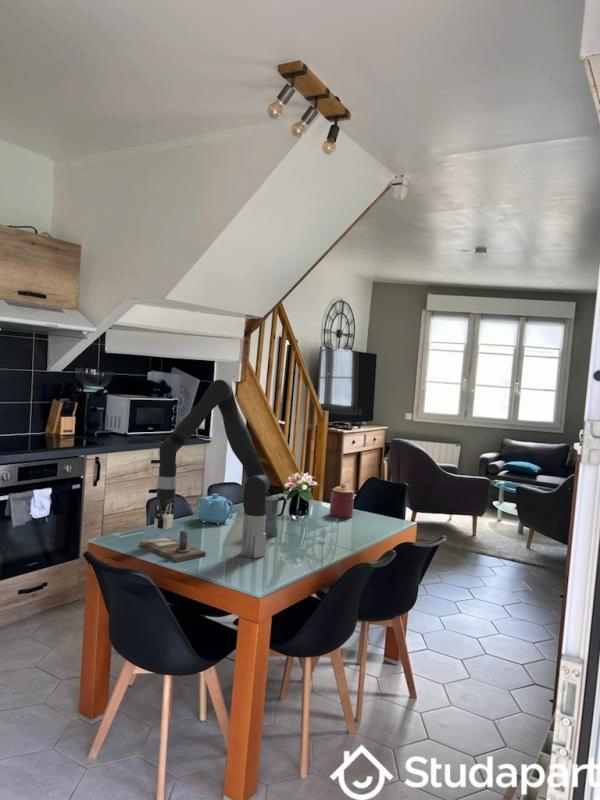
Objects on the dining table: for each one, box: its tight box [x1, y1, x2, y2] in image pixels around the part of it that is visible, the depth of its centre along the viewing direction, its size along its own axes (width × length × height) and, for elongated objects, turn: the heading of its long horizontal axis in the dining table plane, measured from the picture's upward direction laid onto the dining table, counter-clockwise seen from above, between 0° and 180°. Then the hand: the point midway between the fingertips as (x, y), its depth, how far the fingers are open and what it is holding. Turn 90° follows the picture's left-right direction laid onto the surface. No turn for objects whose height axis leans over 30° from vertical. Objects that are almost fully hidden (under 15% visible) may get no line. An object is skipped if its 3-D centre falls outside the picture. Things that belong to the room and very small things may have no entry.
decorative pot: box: [194, 493, 234, 523], centre depth 299 cm, size 16×16×14 cm
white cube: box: [153, 514, 174, 530], centre depth 253 cm, size 6×6×5 cm
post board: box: [139, 530, 207, 563], centre depth 248 cm, size 26×14×10 cm, turn 47°
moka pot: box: [265, 492, 287, 538], centre depth 282 cm, size 10×15×20 cm, turn 117°
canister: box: [328, 483, 355, 519], centre depth 333 cm, size 13×13×18 cm
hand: (163, 526), depth 253 cm, fingers closed on white cube, 5 cm apart
